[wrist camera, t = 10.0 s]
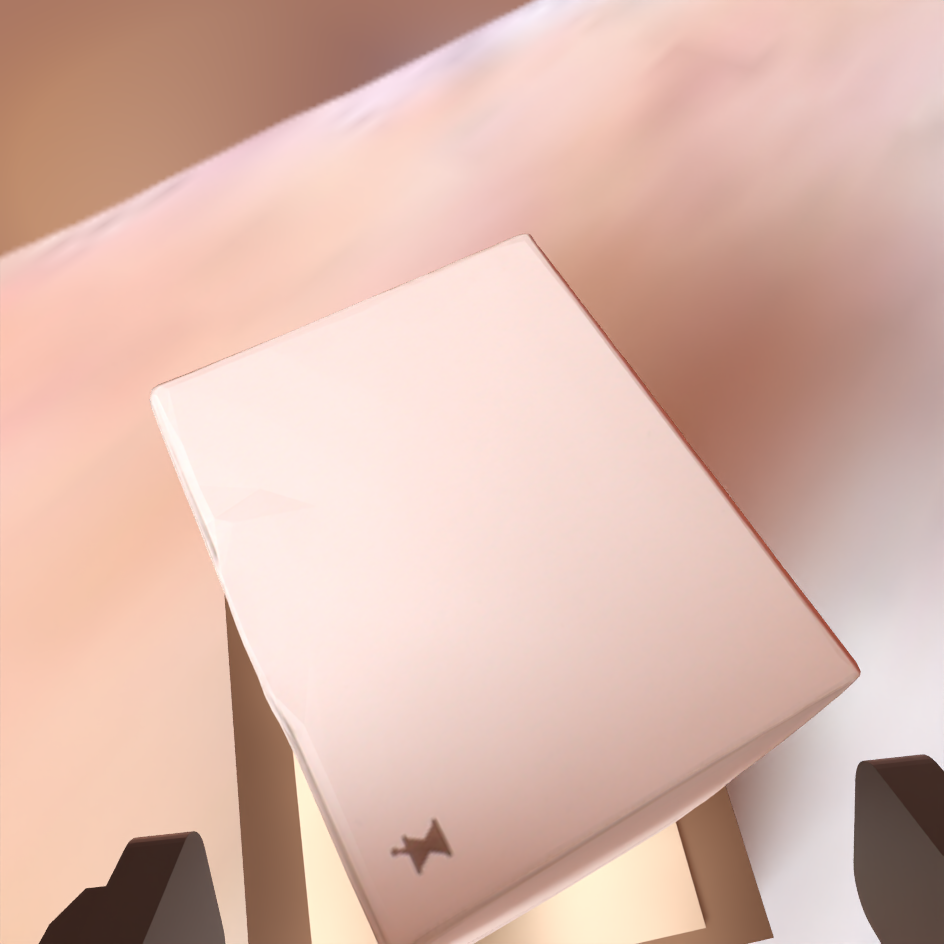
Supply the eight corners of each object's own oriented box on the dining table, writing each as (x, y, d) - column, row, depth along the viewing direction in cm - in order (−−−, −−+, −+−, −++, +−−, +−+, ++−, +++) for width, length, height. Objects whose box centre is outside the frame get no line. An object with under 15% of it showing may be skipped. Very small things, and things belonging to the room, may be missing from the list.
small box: (681, 821, 21) (886, 683, 10) (449, 961, 20) (377, 988, 9) (517, 550, 25) (529, 216, 13) (310, 656, 24) (127, 387, 12)
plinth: (611, 551, 30) (630, 482, 26) (725, 938, 25) (776, 937, 20) (264, 619, 30) (220, 560, 25) (301, 1034, 24) (254, 1056, 20)
